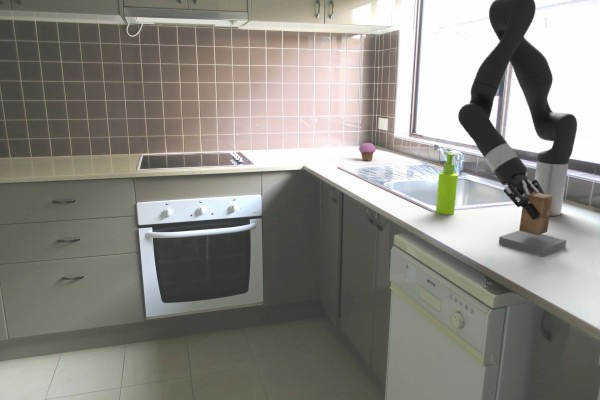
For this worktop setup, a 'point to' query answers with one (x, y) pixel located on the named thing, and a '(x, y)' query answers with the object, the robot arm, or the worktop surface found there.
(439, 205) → the soap dispenser
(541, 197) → the walnut block
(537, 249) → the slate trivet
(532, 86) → the robot arm
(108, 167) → the worktop surface
